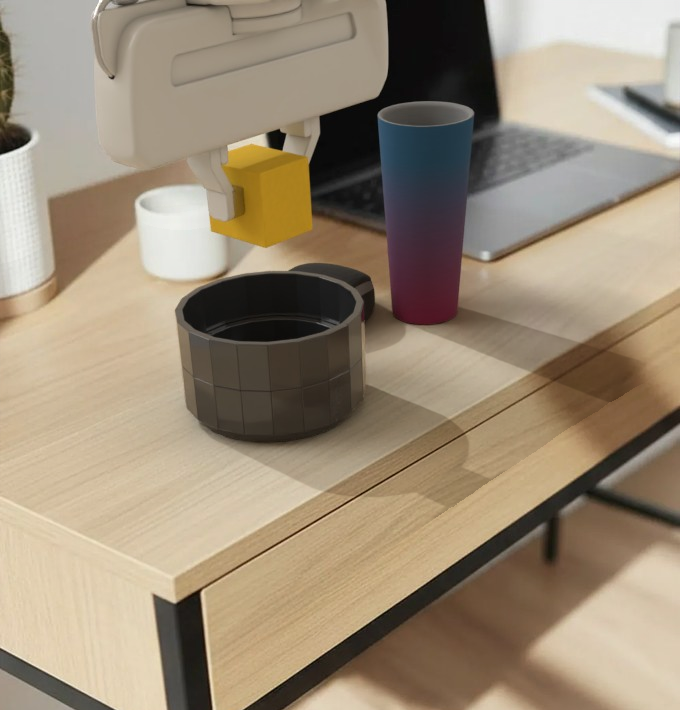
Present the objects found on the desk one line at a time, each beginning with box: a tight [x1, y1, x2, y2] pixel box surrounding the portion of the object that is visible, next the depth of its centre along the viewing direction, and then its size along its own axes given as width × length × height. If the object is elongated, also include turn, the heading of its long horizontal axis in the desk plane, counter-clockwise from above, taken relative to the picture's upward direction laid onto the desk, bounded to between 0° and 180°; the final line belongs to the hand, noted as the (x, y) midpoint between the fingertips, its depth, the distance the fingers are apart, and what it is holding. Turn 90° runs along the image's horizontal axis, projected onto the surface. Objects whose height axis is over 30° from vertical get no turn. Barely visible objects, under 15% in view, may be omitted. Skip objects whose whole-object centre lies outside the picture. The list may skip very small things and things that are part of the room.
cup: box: [377, 100, 475, 325], centre depth 89 cm, size 7×7×15 cm
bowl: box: [174, 270, 367, 443], centre depth 79 cm, size 12×12×7 cm
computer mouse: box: [287, 262, 376, 322], centre depth 90 cm, size 7×12×4 cm, turn 149°
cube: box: [208, 143, 314, 249], centre depth 73 cm, size 5×4×4 cm
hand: (260, 205), depth 73 cm, fingers closed on cube, 4 cm apart
